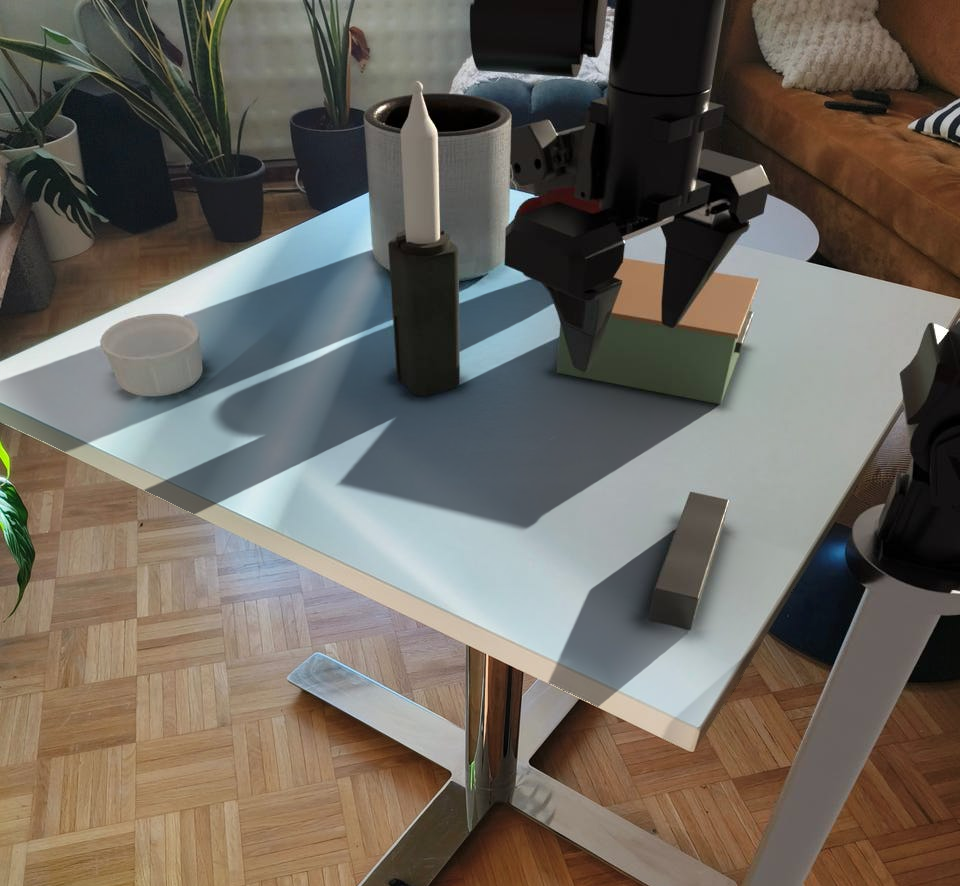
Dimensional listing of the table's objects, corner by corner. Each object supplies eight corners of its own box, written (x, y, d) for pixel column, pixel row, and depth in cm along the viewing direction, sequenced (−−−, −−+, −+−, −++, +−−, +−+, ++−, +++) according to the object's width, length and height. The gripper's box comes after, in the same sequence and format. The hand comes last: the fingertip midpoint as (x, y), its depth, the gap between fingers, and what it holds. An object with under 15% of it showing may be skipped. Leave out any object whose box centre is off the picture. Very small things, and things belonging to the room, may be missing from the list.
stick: (683, 522, 70) (690, 490, 68) (721, 531, 70) (729, 499, 68) (648, 620, 62) (654, 588, 60) (690, 631, 62) (698, 599, 60)
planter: (344, 264, 105) (330, 115, 94) (430, 223, 114) (426, 83, 103) (452, 300, 98) (450, 145, 87) (534, 254, 107) (542, 108, 96)
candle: (464, 385, 85) (462, 84, 68) (416, 399, 83) (402, 93, 66) (439, 362, 88) (431, 69, 71) (392, 375, 86) (372, 77, 69)
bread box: (747, 347, 91) (762, 279, 86) (725, 406, 83) (741, 335, 78) (589, 320, 95) (595, 253, 90) (553, 373, 87) (558, 303, 82)
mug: (525, 297, 99) (529, 188, 91) (503, 264, 105) (506, 159, 97) (627, 287, 101) (640, 179, 93) (600, 255, 107) (610, 152, 99)
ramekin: (222, 384, 85) (213, 341, 82) (131, 410, 81) (117, 367, 78) (188, 347, 90) (178, 305, 87) (100, 370, 87) (87, 328, 84)
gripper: (652, 33, 58) (624, 272, 69) (437, 84, 49) (444, 350, 60) (800, 64, 53) (744, 319, 64) (588, 129, 44) (566, 413, 55)
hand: (626, 346), depth 61 cm, fingers open, 9 cm apart
